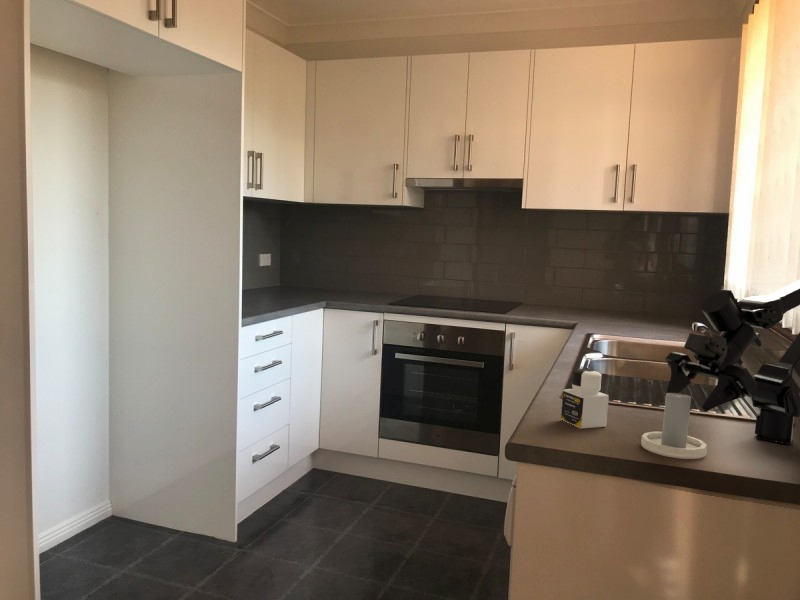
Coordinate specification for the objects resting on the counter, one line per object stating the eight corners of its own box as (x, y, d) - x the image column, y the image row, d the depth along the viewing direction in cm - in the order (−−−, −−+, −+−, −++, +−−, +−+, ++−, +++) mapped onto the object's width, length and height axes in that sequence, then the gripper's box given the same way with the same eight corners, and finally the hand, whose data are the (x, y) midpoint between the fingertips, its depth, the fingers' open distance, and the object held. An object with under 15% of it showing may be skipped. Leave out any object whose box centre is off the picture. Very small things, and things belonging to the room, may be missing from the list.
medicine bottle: (560, 420, 151) (564, 367, 150) (585, 418, 153) (590, 366, 152) (580, 429, 144) (584, 374, 143) (606, 427, 147) (611, 373, 146)
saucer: (710, 448, 135) (711, 439, 135) (700, 463, 125) (701, 454, 125) (648, 436, 141) (649, 428, 141) (634, 449, 131) (635, 440, 131)
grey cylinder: (683, 443, 135) (688, 394, 134) (688, 450, 130) (693, 399, 129) (659, 440, 136) (664, 391, 135) (663, 447, 131) (667, 396, 130)
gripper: (675, 313, 142) (630, 367, 139) (752, 326, 125) (703, 387, 122) (699, 349, 146) (656, 402, 142) (777, 366, 129) (731, 426, 125)
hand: (684, 403), depth 133 cm, fingers open, 9 cm apart
